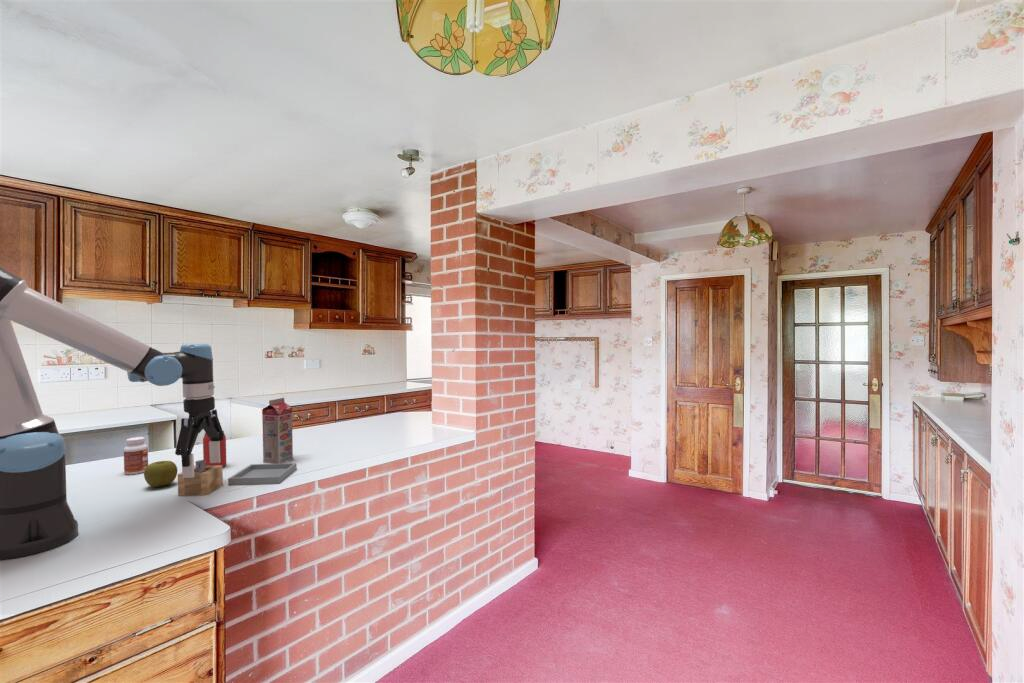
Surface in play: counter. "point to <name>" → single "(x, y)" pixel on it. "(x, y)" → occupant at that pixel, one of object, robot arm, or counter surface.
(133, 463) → the pill bottle
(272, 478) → the tray
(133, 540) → the counter surface
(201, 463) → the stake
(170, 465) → the apple
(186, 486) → the oak ring
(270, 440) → the juice carton
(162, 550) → the counter surface
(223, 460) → the beer can
